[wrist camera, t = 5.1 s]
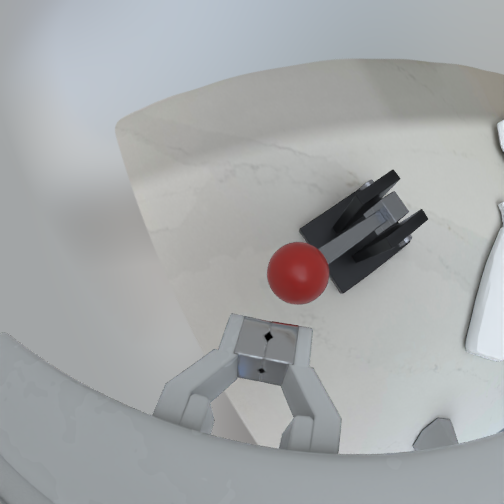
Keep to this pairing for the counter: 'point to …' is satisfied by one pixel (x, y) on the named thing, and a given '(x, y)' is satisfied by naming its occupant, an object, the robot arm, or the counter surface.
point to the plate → (501, 133)
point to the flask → (436, 435)
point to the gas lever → (325, 254)
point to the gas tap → (372, 246)
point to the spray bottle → (489, 306)
